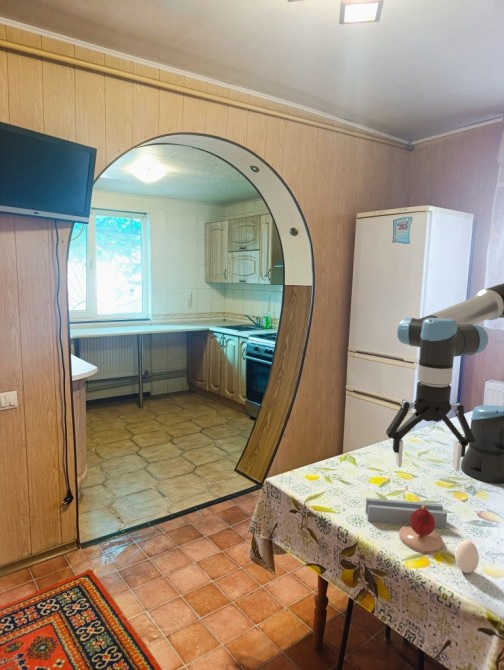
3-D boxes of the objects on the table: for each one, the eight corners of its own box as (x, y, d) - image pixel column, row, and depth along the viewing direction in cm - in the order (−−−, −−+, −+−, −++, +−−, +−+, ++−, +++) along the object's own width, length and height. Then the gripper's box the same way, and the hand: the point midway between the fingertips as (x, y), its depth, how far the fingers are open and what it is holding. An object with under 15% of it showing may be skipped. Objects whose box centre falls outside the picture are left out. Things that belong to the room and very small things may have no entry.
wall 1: (440, 517, 118) (441, 504, 117) (441, 520, 116) (442, 506, 116) (365, 511, 120) (366, 497, 119) (365, 513, 119) (366, 500, 118)
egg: (469, 564, 99) (473, 534, 98) (481, 578, 94) (484, 547, 93) (450, 564, 99) (453, 534, 98) (460, 578, 94) (463, 547, 93)
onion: (435, 544, 104) (438, 514, 103) (410, 541, 105) (413, 510, 104) (430, 531, 110) (433, 501, 109) (407, 527, 111) (409, 498, 110)
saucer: (435, 530, 112) (435, 526, 112) (448, 554, 102) (448, 550, 102) (395, 526, 113) (396, 522, 113) (404, 550, 103) (404, 546, 103)
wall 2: (444, 525, 114) (445, 511, 114) (445, 527, 113) (447, 513, 112) (367, 518, 117) (368, 504, 116) (367, 520, 115) (368, 506, 115)
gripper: (482, 381, 105) (474, 463, 108) (377, 376, 108) (372, 456, 111) (496, 389, 98) (486, 477, 101) (383, 384, 101) (377, 469, 104)
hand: (426, 466), depth 106 cm, fingers open, 13 cm apart
